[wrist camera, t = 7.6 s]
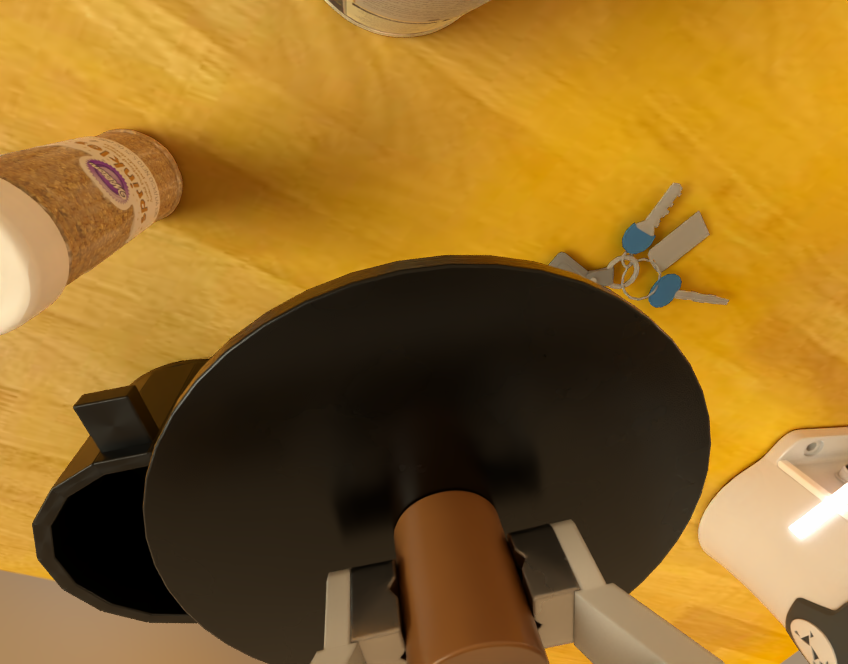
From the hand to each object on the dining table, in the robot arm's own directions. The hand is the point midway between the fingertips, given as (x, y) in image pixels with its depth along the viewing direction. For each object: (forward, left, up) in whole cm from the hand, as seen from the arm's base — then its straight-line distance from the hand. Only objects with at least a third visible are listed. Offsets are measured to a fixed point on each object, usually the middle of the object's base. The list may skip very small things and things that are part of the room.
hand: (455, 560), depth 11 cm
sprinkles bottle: (+12, -7, -20) cm, 24 cm away
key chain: (-15, +2, -20) cm, 25 cm away
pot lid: (0, 0, -2) cm, 2 cm away
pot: (+14, +10, -20) cm, 26 cm away
